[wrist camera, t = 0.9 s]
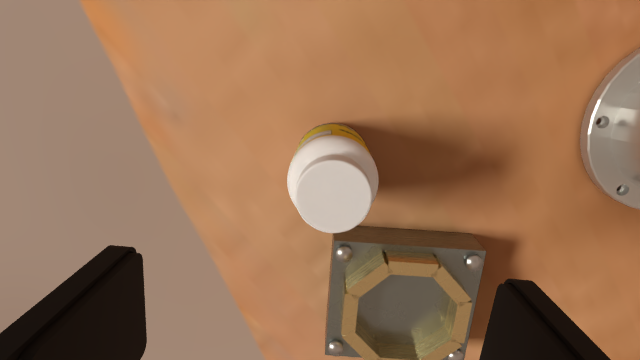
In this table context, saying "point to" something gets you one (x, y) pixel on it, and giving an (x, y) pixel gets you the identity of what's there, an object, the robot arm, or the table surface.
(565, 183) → the table surface
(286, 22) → the table surface
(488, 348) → the robot arm
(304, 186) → the supplement bottle
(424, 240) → the octagonal bottle holder
